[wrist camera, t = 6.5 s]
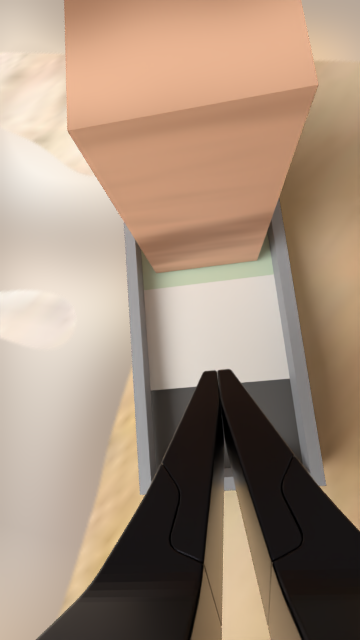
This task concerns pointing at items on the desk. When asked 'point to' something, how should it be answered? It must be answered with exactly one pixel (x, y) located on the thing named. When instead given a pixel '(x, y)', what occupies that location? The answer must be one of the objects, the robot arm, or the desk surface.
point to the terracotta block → (189, 117)
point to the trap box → (219, 347)
